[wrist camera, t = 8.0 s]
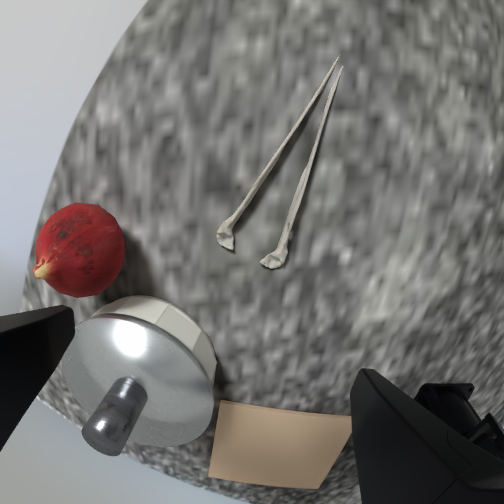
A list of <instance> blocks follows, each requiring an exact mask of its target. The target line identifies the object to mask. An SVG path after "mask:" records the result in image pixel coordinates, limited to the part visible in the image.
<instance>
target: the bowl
mask: <svg viewBox="0 0 504 504" xmlns="http://www.w3.org/2000/svg"><path fill="white" fill-rule="evenodd" d="M104 313H118V314H126V315H131V316H135V317H138V318H141V319H144V320H146V321H148V322H151V323H153V324H155V325H157V326H159V327H161V328H162V329H164V330H166V331H167V332H169V333H170V334H172V335H173V336H175V337H176V338H177V339H178V340H180V341H181V342H182V343H183V344H184V345H186V346H187V347H188V349H189V350H190V351H191V352H192V353H193V354H194V355H195V356H196V357H197V359H198V360H199V361H200V362H201V364H202V365H203V367H204V369H205V370H206V372H207V374H208V376H209V378H210V381H211V383H212V387H213V386H214V379H215V372H216V365H217V361H216V356H215V352H214V348H213V346H212V343H211V341H210V339H209V337H208V336H207V334H206V332H205V331H204V330H203V328H202V327H201V326H200V325H199V324H198V322H197V321H196V320H195V319H194V318H193V317H191V316H190V315H189V314H188V313H187V312H185V311H184V310H182V309H181V308H179V307H178V306H176V305H174V304H172V303H170V302H168V301H165V300H163V299H160V298H156V297H152V296H146V295H132V296H126V297H122V298H120V299H118V300H115V301H114V302H112V303H110V304H107V305H104V306H102V307H101V308H100V309H99V310H98V311H97V312H96V313H94V314H93V315H92V316H94V315H99V314H104ZM92 316H91V317H92Z"/></svg>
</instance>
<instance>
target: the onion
mask: <svg viewBox="0 0 504 504" xmlns="http://www.w3.org/2000/svg"><path fill="white" fill-rule="evenodd" d="M35 253H36V264H37V265H36V266H35V267H34V268H33V273H34V276H35V278H36V279H44V280H45V281H46V282H47V283H48V284H49V285H50V286H51V287H52V288H54V289H55V290H56V291H58V292H59V293H62V294H65V295H69V296H72V297H76V298H79V297H87V296H93V295H97V294H99V293H101V292H102V291H104V290H105V289H106V288H107V287H109V286H110V285H111V284H112V283H113V282H114V281H115V279H116V278H117V276H118V274H119V272H120V270H121V268H122V266H123V264H124V255H125V242H124V237H123V232H122V230H121V228H120V226H119V225H118V223H117V221H116V219H115V218H114V217H113V216H112V215H111V214H110V213H108V212H107V211H106V210H104V209H103V208H101V207H100V206H99V205H93V204H84V203H74V204H71V205H68V206H66V207H64V208H62V209H60V210H58V211H56V212H55V213H54V214H53V215H51V217H50V218H49V219H48V220H47V222H46V223H45V224H44V226H43V227H42V229H41V230H40V232H39V235H38V239H37V244H36V248H35Z"/></svg>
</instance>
